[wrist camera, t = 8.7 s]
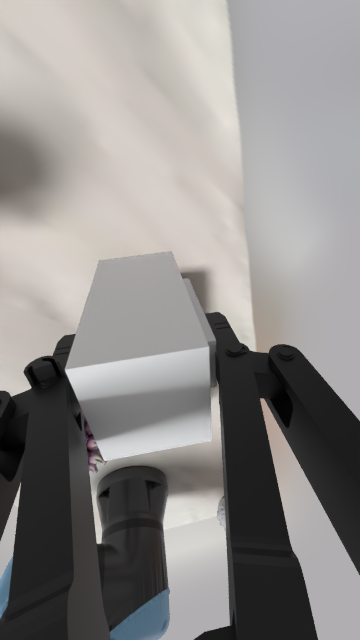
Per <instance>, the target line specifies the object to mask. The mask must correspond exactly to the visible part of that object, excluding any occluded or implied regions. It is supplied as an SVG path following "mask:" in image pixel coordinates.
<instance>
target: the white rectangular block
mask: <svg viewBox="0 0 360 640" xmlns="http://www.w3.org/2000/svg"><path fill="white" fill-rule="evenodd" d="M65 371H66V374H67V376H68V378H69V381H70V383H71V385H72V388H73V390H74V392H75V395H76V397H77V399H78V402H79V404H80V406H81V409H82V411H83V413H84V415H85V418H86V420H87V422H88V425H89V427H90V429H91V432H92V434H93V436H94V439H95V441H96V443H97V446H98V448H99V450H100V453H101V455H102V457H103V459H104V461H108V460H113V459H118V458H124V457H129V456H134V455H140V454H145V453H150V452H155V451H161V450H166V449H171V448H177V447H182V446H187V445H192V444H198V443H203V442H208V441H212V432H211V396H210V361H209V345H208V343H207V340H206V337H205V335H204V332H203V330H202V327H201V325H200V322H199V320H198V317H197V314H196V312H195V309H194V307H193V304H192V302H191V299H190V297H189V294H188V291H187V289H186V286H185V284H184V281H183V279H182V276H181V274H180V271H179V268H178V266H177V263H176V261H175V258H174V256H173V253H172V251H170V252H162V253H154V254H146V255H139V256H131V257H123V258H115V259H107V260H100V261H99V263H98V266H97V269H96V272H95V276H94V279H93V282H92V285H91V288H90V291H89V295H88V298H87V301H86V304H85V307H84V310H83V314H82V317H81V320H80V323H79V326H78V329H77V332H76V336H75V339H74V342H73V345H72V348H71V351H70V355H69V358H68V361H67V364H66V367H65Z"/></svg>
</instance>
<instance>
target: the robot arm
mask: <svg viewBox="0 0 360 640" xmlns="http://www.w3.org/2000/svg"><path fill="white" fill-rule="evenodd" d="M183 281H184V284H185V286H186V289H187V291H188V294H189V297H190V299H191V302H192V304H193V307H194V309H195V312H196V314H197V317H198V320H199V322H200V325H201V327H202V330H203V332H204V335H205V337H206V340H207V343H208V345H209V361H210V387H215V386H217V381H218V384H219V404H220V420H221V440H222V460H223V480H224V500H225V520H226V540H227V559H228V581H229V612H230V626H227V627H223V628H219V629H215V630H211V631H207V632H204V633H203V634H201V635H200V636H198V637H197V638H195V639H194V640H318V638H317V634H316V630H315V625H314V620H313V616H312V611H311V607H310V602H309V598H308V594H307V589H306V585H305V580H304V577H303V573H302V569H301V566H300V563H299V561H298V558H297V557H296V555H295V554H294V552H293V550H292V547H291V544H290V540H289V535H288V530H287V525H286V521H285V516H284V511H283V507H282V502H281V497H280V492H279V487H278V483H277V478H276V474H275V468H274V464H273V459H272V454H271V449H270V445H269V440H268V435H267V430H266V425H265V421H264V416H263V412H262V406H261V402H260V398H264V399H265V401H266V403H267V405H268V407H269V408H270V410H271V412H272V414H273V416H274V418H275V420H276V421H277V423H278V425H279V427H280V428H281V430H282V433H283V434H284V436H285V438H286V440H287V442H288V444H289V445H290V447H291V449H292V451H293V453H294V455H295V456H296V458H297V460H298V462H299V464H300V466H301V468H302V469H303V471H304V473H305V475H306V477H307V479H308V480H309V482H310V484H311V486H312V488H313V490H314V492H315V493H316V495H317V497H318V499H319V501H320V502H321V504H322V506H323V508H324V510H325V512H326V514H327V515H328V517H329V519H330V521H331V523H332V525H333V527H334V528H335V530H336V532H337V534H338V536H339V538H340V540H341V541H342V543H343V545H344V547H345V549H346V551H347V552H348V554H349V556H350V558H351V560H352V562H353V563H354V565H355V567H356V569H357V571H358V573H359V575H360V421H359V420H358V419H357V417H356V416H355V415H354V414H353V413H352V411H351V410H350V409H349V408H348V407H347V406H346V404H345V403H344V402H343V401H342V400H341V399H340V397H339V396H338V395H337V394H336V393H335V392H334V390H333V389H332V388H331V387H330V386H329V385H328V383H327V382H326V381H325V380H324V379H323V377H321V375H320V374H319V373H318V372H317V370H316V369H315V368H314V367H313V366H312V365H311V363H310V362H309V361H308V360H307V359H306V358H305V357H304V355H303V354H302V353H301V352H300V351H299V350H298V349H297V348H295V347H293V346H290V345H285V344H281V345H275V346H273V347H272V348H271V349H270V350H269V353H259V352H253V351H250V350H249V348H248V347H247V346H246V345H244V344H242V343H240V342H239V341H238V339H237V337H236V335H235V333H234V332H233V330H232V328H231V326H230V324H229V323H228V321H227V319H226V317H225V316H224V315H222V314H221V313H219V312H214V313H208V314H204V312H203V309H202V307H201V305H200V303H199V300H198V298H197V296H196V294H195V291H194V289H193V287H192V284H191V282H190V280H189V278H185V279H183ZM88 295H89V294H88ZM87 298H88V297H87ZM86 301H87V300H86ZM82 314H83V313H82ZM81 317H82V316H81ZM80 320H81V319H80ZM75 336H76V334H72V335H65V336H63V337H62V338H61V339H60V341H59V342H58V343H57V346H56V348H55V351H54V353H53V356H44V357H40V358H38V359H35V360H34V361H32V362H31V363H29V364H28V365H27V366H26V367H25V370H24V374H25V376H26V378H27V379H28V381H29V383H30V385H31V387H32V388H31V389H30V390H27V391H25V392H23V393H20V394H17V395H15V396H12V397H11V396H10V394H9V393H8V392H6V391H0V540H1V537H2V535H3V532H4V529H5V526H6V523H7V520H8V517H9V515H10V512H11V509H12V506H13V503H14V500H15V497H16V494H17V492H18V489H19V486H20V483H21V489H20V498H19V507H18V517H17V526H16V534H15V544H14V553H13V557H12V558H11V560H10V562H9V563H8V565H7V567H6V569H5V571H4V573H3V575H2V577H1V579H0V640H158V639H159V638H161V637H162V636H163V635H164V633H165V632H166V630H167V628H168V625H169V620H170V616H169V615H170V613H169V592H170V590H169V589H168V577H167V567H166V554H165V543H164V533H163V518H164V513H165V507H166V502H167V496H168V482H167V478H166V476H165V475H164V474H163V473H162V472H161V471H159V470H157V469H154V468H149V467H129V468H124V469H120V470H117V471H115V472H112V473H110V474H108V475H107V476H105V477H104V478H103V479H102V480H101V481H100V483H99V484H98V488H97V497H96V500H97V506H98V511H99V516H100V521H101V526H102V543H101V544H97V543H96V533H95V524H94V514H93V505H92V495H91V486H90V476H89V467H88V457H87V448H86V438H85V429H84V419H83V415H82V412H81V410H80V408H81V406H80V404H79V402H78V399H77V397H76V395H75V392H74V390H73V388H72V385H71V383H70V381H69V378H68V376H67V374H66V371H65V367H66V364H67V361H68V358H69V355H70V351H71V348H72V345H73V342H74V339H75Z"/></svg>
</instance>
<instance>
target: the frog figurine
mask: <svg viewBox="0 0 360 640" xmlns="http://www.w3.org/2000/svg"><path fill="white" fill-rule="evenodd" d="M217 518H218V519H219V521H220V525H221V526H222V527H224V529H225V531H226V520H225V500H224V497H223V498H222V499H221V500H220V501H219V504H218V511H217Z"/></svg>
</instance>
